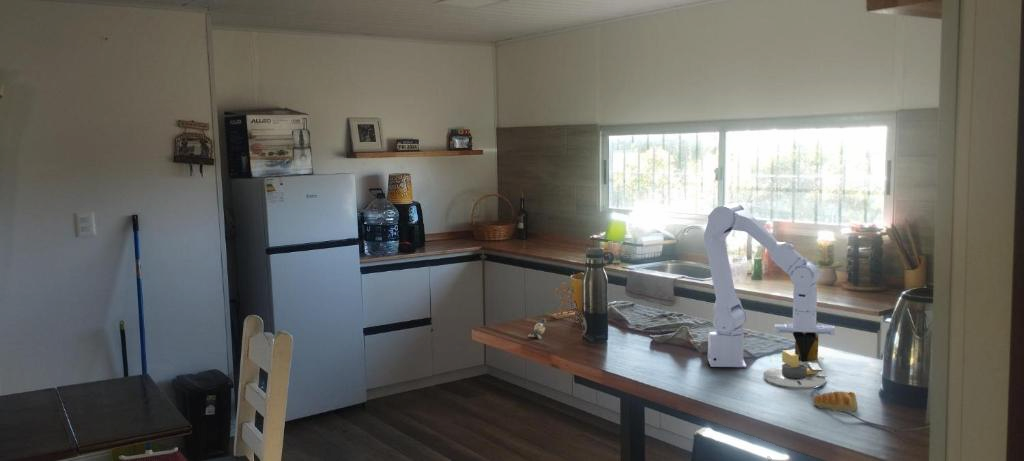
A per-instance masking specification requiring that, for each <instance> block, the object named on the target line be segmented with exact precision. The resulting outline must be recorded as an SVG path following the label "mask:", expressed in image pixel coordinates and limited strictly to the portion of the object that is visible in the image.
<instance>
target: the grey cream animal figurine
mask: <svg viewBox="0 0 1024 461" xmlns="http://www.w3.org/2000/svg"><path fill="white" fill-rule="evenodd" d="M538 319H539V320H537V323H536V324H535V325H534V329H533V330H534V333H533V334H531V333H530V334H528V337H532V338H537V339H538V340H541V339H543V337H542V336H541V335H542V334H544V333H545V331H546V323H547V319H546V318H545V317H539V318H538Z"/></svg>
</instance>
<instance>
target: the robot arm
mask: <svg viewBox="0 0 1024 461" xmlns="http://www.w3.org/2000/svg"><path fill="white" fill-rule="evenodd" d="M707 219H708V220H707V223H706V228H705V231H704V234H703V240H704V245H705V251H706V255H707V259H708V264H709V269H710V270H709V271H710V275H711V280H712V284H713V285H712V286H713V290H714V295H715V296H714V297H715V301H714V305H713V318H712V325H713V327H714V329H715V331H709V332H708V335H707V360H708V363H709V365H710V367H712V368H713V367H714V368H716V367H717V368H747V364H746V362H745V359H744V329H743V326H744V325H745V324H746V322H747V319H748V316H747V312H746V310H745V309H744V308H743V306H742V302H741V299H740V298H738V296H737V294H736V289H735V285H734V281H733V275H732V270H731V265H730V261H729V255H728V250H727V244H726V238H727V237H728V236H729V235H730V233H731V232H732V231H737V232H738V231H739V232H745V233H747V234H748V235H749V236H750V237H752V238H753V239H754V240H756V242H757V243H759V244H760V245H761V246H762V247H764V248H765V249H766V250H768V252H769V258H770V259H771V261H772V262H774V263H775V264H776V265H777V266H778V267H779V268H780V269H782V271H783V272H785V273H786V274H787V275H788V276H789V278H790V281H791V283H792V284H793V294H792V295H793V299H792V304H793V305H792V307H793V308H792V323H784V324H783V323H782V324H776V323H775V324H774V334H792V335H793V337H794V341H795V340H796V343H797V346H798V349H799V353H800V360H801V362H807V358H808V354H809V351H810V349H811V347H812V345H813V343H814V342H815V340H816V334H818V335H830V336H836V334H835V332H836V328H835V327H834V325H822V324H817V325H816V317H817V311H818V310H817V309H818V307H817V306H818V292H817V291H818V289H817V288H818V283H817V282H818V280H819V279H820V277H821V271H820V268H819V266H817V264H816V263H815V262H813V261H809V259H808V258H807V257H803V255H801V254H800V253H799V252H798V251H796V250H795V249H794V248H795V245H793V244H792V243H787V242H786V241H783V242H781V241H779V240H778V239H776V238H775V237H774V236H773V235H772V234H771V233H770V232H769V230H767V229H766V228H765V227H764V226H763V225H762V224H761V223H760V222H759V221H758V219H756V218H755V217H754V215H752V214H751V212H750V211H749V210H748V209H745V208H744V207H743V206H742V205H741V204H739V203H737V202H731V203H729V204H725V205H718V206H716V207H715V208H714V209H713V210H712V211H711V212H710V213H709V214H708V215H707ZM803 334H804V335H803Z"/></svg>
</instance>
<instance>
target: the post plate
mask: <svg viewBox="0 0 1024 461" xmlns="http://www.w3.org/2000/svg"><path fill="white" fill-rule="evenodd" d="M807 368H811V369H812V371H813V372H819V373H818V374H807V376H806V377H802V378H792V377H787V376H784V375H783V374H782V366H777V367H771V368H769V369H766V370H764V371H763V379H764V381H765V382H766V383H767V384H771V385H773V386H776V387H780V388H785V389H791V390H792V389H795V390H811V389H812V388H813V389H815V388H814V387H816V386H819V385H823V386H825V384H826V379H827V378H828V375H827V374H826V375H825V374H823V373H822V372H823V369H822V367H821V366H820V365H819V364H818V362H810V363H807ZM826 377H827V378H826Z"/></svg>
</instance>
